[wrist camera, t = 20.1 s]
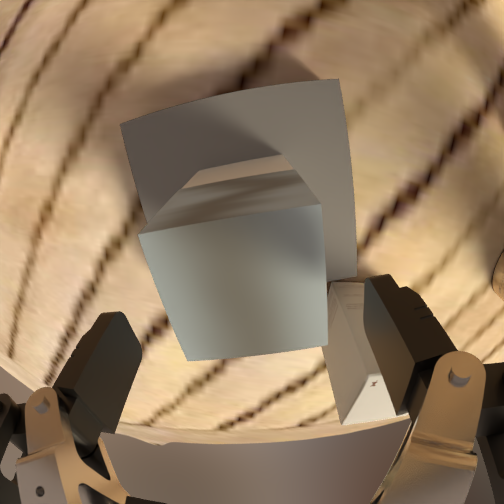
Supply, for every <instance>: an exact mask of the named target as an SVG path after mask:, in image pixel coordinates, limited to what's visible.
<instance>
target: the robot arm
mask: <svg viewBox="0 0 504 504" xmlns="http://www.w3.org/2000/svg"><path fill="white" fill-rule="evenodd" d="M492 285H493V289H494V291H495V293H496V294H497V295H498V296H499V297H500V298H501V299H502V300H503V301H504V252H503V253H502V255H501V257H500V259H499V260H498V263H497V265H496V268H495V271H494V274H493V284H492ZM363 324H364V330H365V334H366V336H367V339H368V341H369V344H370V346H371V349H372V351H373V354H374V356H375V359H376V361H377V364H378V367H379V369H380V372H381V374H382V377H383V380H384V382H385V385H386V388H387V390H388V393H389V396H390V399H391V402H392V404H393V407H394V410H395V413H396V416H399V415H403V414H406V413H409V416H410V418H411V424H410V426H409V428H408V430H407V433H406V435H405V437H404V440H403V442H402V444H401V447H400V449H399V451H398V453H397V455H396V457H395V459H394V461H393V463H392V465H391V467H390V469H389V471H388V473H387V475H386V477H385V479H384V480H383V482H382V484H381V485H380V487H379V489H378V490H377V492H376V494H375V495H374V497H373V498H372V500H371V502H370V503H369V504H464V501H465V499H466V496H467V494H468V491H469V488H470V485H471V482H472V479H473V476H474V473H475V469H476V466H477V454H476V453H473V443H474V440H475V437H476V438H477V441H478V444H479V446H480V450H481V453H482V456H483V459H484V462H485V465H486V469H487V472H488V476H489V479H490V483H491V487H492V490H493V495H494V499H495V503H496V504H504V362H502V363H492V364H482V362H481V361H480V360H479V359H478V358H477V357H476V356H474V355H472V354H470V353H468V352H463V351H458V350H457V349H456V347H455V346H454V344H453V343H452V341H451V340H450V338H449V336H448V335H447V333H446V332H445V330H444V329H443V328H442V326H441V325H440V323H439V322H438V320H437V319H436V317H434V316H433V313H432V312H431V310H430V309H429V307H428V308H427V305H426V303H425V302H424V301H423V299H422V298H421V296H420V295H419V294H418V293H416V292H414V291H413V290H411V289H410V288H408V287H407V286H406V287H401V288H399V286H398V285H397V283H396V282H395V281H394V279H393V278H392V276H391V275H390V274H385V275H379V276H374V277H369V278H366V279H365V284H364V309H363ZM141 360H142V349H141V345H140V343H139V341H138V339H137V337H136V335H135V334H134V332H133V330H132V328H131V326H130V324H129V322H128V320H127V318H126V316H125V315H124V313H122V312H120V311H119V312H107V313H101V314H100V315H99V317H98V318H97V320H96V321H95V323H94V324H93V326H92V328H91V329H90V330H89V331H88V332H87V333H86V334H85V335H83V336H82V338H81V339H80V341H79V343H78V344H77V346H76V349H74V351H73V352H72V354H71V357H69V359H68V361H67V362H66V364H65V366H64V368H63V369H62V371H61V373H60V374H59V376H58V378H57V380H56V381H55V383H54V385H53V387H52V388H51V387H43V388H40V389H38V390H36V391H35V392H34V393H33V394H32V395H31V396H30V397H29V399H28V401H27V403H23V404H16V403H15V402H14V401H13V400H12V399H11V397H10V396H9V395H7V394H0V463H1V460H2V458H3V455H4V453H5V450H6V448H7V446H8V443H9V441H11V442H12V443H13V444H14V445H15V446H16V447H17V448H18V449H20V450H21V451H22V452H23V454H22V456H21V458H18V459H17V461H16V473H15V476H14V479H13V480H12V481H10V480H8V479H7V478H5V477H4V476H3V474H2V473H1V470H0V504H166V503H161V502H155V501H150V500H144V499H140V498H135V497H131V496H130V495H129V494H128V493H127V492H126V491H125V490H124V489H123V488H122V486H121V484H120V483H119V481H118V479H117V476H116V474H115V471H114V469H113V466H112V464H111V461H110V459H109V456H108V454H107V451H106V449H105V446H104V443H103V441H102V439H101V438H99V436H100V433H101V432H106V433H111V434H115V431H116V428H117V425H118V422H119V419H120V416H121V413H122V411H123V408H124V405H125V402H126V400H127V397H128V394H129V391H130V389H131V386H132V383H133V381H134V378H135V376H136V373H137V370H138V368H139V365H140V363H141Z"/></svg>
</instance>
